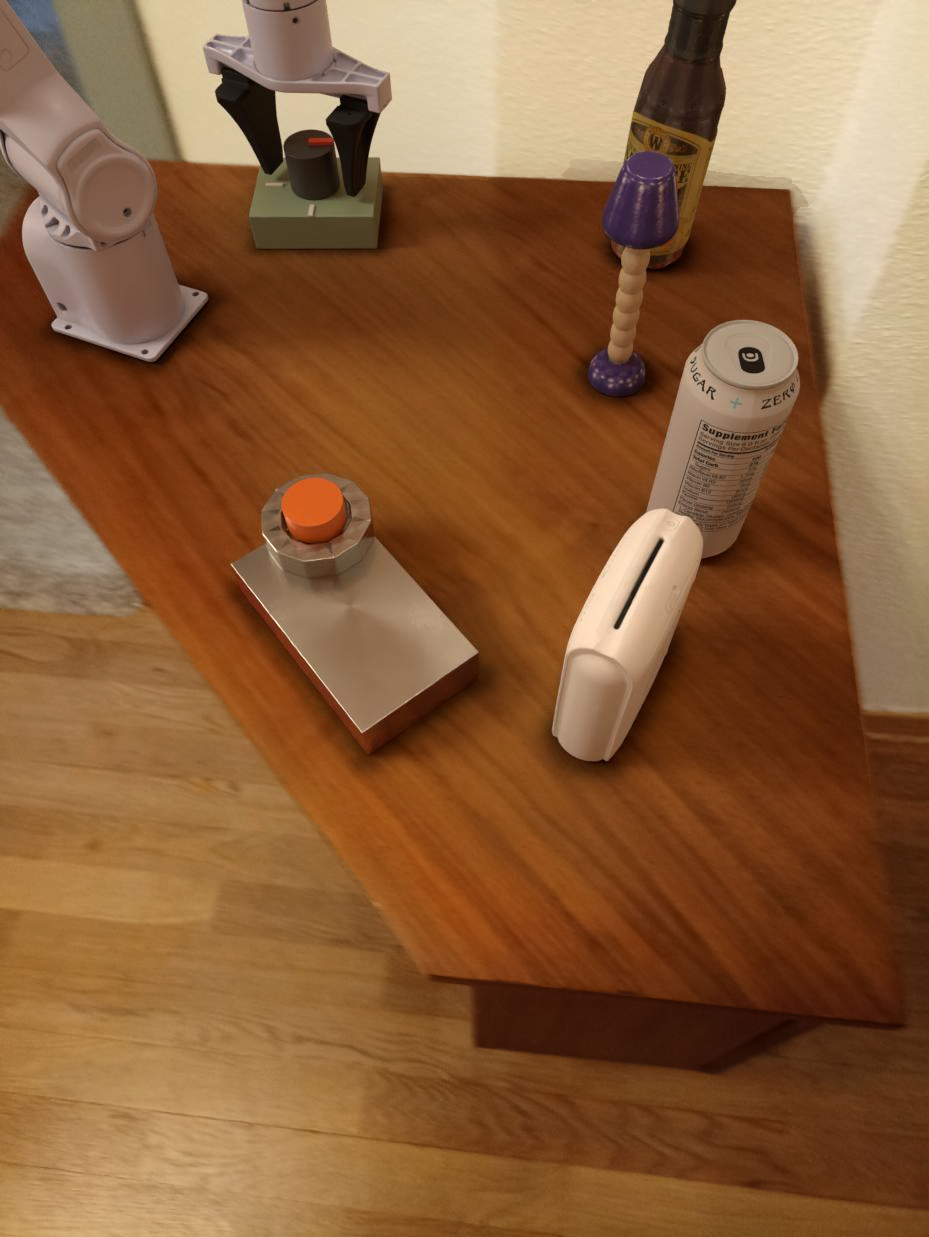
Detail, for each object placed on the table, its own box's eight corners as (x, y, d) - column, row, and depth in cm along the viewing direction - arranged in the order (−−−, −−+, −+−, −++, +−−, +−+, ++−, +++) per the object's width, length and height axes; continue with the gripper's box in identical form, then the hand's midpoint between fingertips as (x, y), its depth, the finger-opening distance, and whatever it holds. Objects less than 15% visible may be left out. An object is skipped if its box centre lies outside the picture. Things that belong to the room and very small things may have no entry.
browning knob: (288, 200, 71) (279, 155, 68) (294, 170, 73) (285, 125, 70) (337, 200, 71) (331, 155, 68) (342, 170, 73) (335, 125, 70)
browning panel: (256, 249, 73) (247, 215, 70) (269, 189, 77) (261, 154, 74) (376, 249, 73) (373, 215, 70) (383, 189, 77) (379, 154, 74)
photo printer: (612, 606, 55) (644, 477, 44) (677, 634, 54) (726, 509, 43) (539, 742, 50) (556, 635, 40) (609, 776, 49) (644, 675, 39)
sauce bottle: (594, 256, 72) (630, -20, 55) (632, 216, 74) (677, -60, 57) (666, 286, 70) (726, 9, 53) (702, 243, 73) (771, -33, 55)
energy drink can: (729, 492, 59) (798, 311, 46) (742, 566, 56) (821, 395, 43) (639, 492, 59) (683, 311, 46) (648, 566, 56) (698, 395, 43)
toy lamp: (641, 406, 63) (688, 191, 49) (576, 397, 64) (605, 182, 50) (647, 360, 66) (694, 141, 51) (585, 351, 66) (614, 133, 52)
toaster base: (228, 574, 56) (207, 527, 52) (342, 506, 59) (331, 456, 55) (368, 755, 50) (357, 719, 46) (488, 670, 53) (489, 628, 48)
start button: (275, 515, 53) (269, 497, 52) (325, 486, 54) (321, 467, 53) (307, 554, 52) (302, 536, 50) (358, 523, 53) (355, 505, 51)
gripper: (404, -17, 60) (416, 171, 72) (222, -54, 64) (262, 132, 75) (356, 33, 57) (377, 221, 69) (167, -8, 60) (218, 178, 72)
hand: (314, 178), depth 72 cm, fingers open, 7 cm apart
